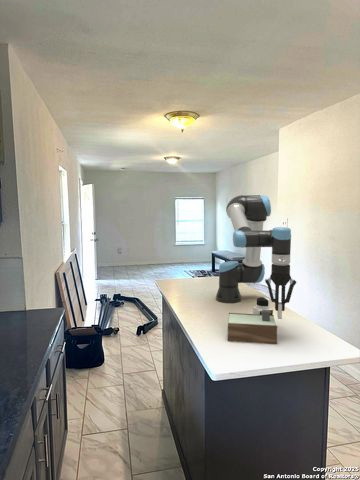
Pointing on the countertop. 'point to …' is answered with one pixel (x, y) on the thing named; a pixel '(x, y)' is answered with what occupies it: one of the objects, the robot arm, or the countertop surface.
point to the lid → (253, 319)
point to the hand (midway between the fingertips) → (279, 317)
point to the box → (252, 332)
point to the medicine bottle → (262, 306)
